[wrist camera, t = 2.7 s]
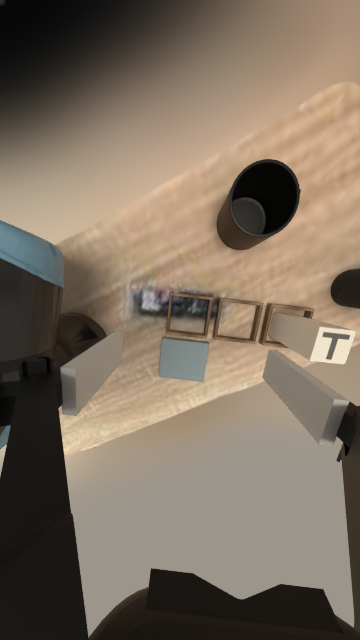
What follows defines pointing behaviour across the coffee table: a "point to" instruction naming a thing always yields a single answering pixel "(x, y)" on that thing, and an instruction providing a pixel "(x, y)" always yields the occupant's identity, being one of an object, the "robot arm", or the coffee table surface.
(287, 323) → the letter block
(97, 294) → the coffee table surface
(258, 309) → the wooden window frame
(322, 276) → the coffee table surface
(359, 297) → the travel mug
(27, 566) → the robot arm
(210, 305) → the wooden picture frame
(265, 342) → the wooden frame right
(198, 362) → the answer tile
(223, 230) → the mug
